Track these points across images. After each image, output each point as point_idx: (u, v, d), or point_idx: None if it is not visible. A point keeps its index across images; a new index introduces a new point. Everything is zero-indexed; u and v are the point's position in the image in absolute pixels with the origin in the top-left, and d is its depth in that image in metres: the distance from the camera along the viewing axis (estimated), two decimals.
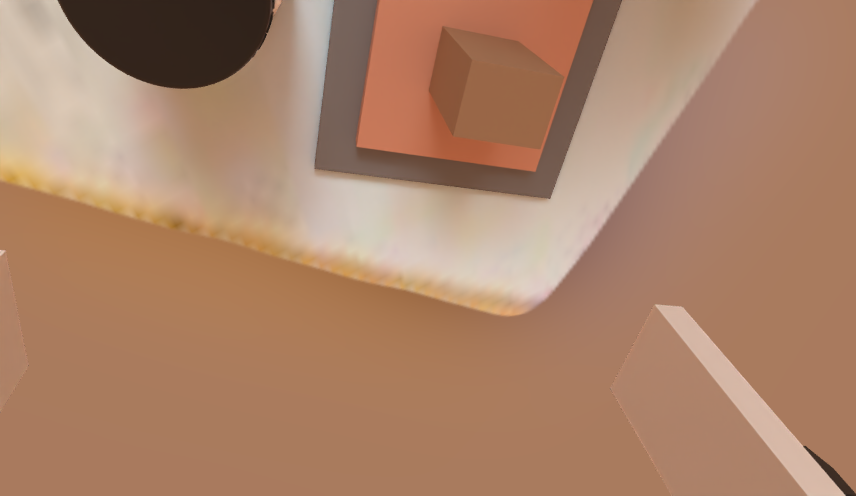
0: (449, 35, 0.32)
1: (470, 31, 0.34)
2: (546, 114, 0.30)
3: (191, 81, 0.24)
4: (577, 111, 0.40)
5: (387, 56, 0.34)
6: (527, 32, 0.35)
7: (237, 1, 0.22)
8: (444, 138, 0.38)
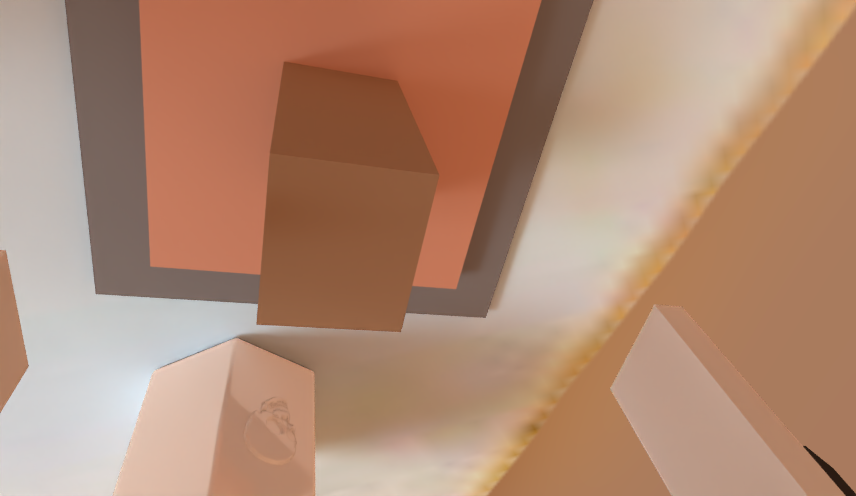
0: None
1: None
2: (358, 176, 0.13)
3: None
4: None
5: None
6: (266, 45, 0.19)
7: None
8: (455, 172, 0.23)
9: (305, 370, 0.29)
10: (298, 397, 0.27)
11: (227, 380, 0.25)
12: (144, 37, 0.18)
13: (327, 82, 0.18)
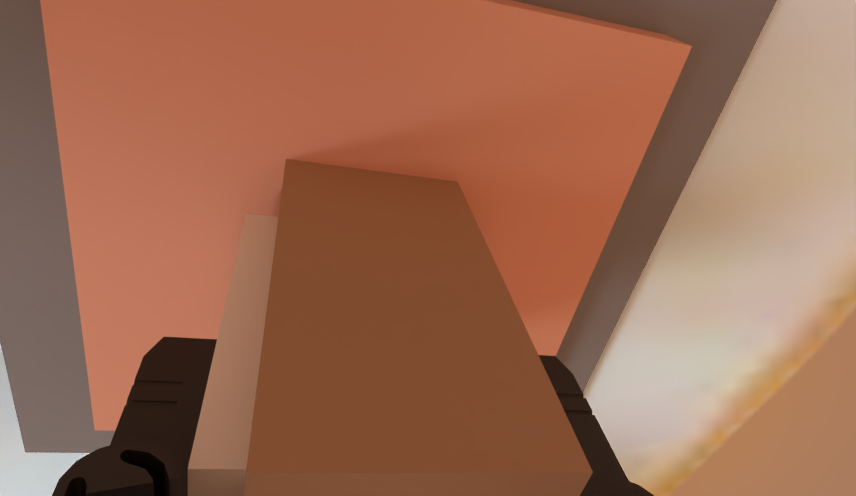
0: None
1: None
2: (431, 489, 0.06)
3: None
4: None
5: None
6: (258, 137, 0.12)
7: None
8: (532, 298, 0.16)
9: None
10: None
11: None
12: (63, 129, 0.11)
13: (354, 201, 0.11)
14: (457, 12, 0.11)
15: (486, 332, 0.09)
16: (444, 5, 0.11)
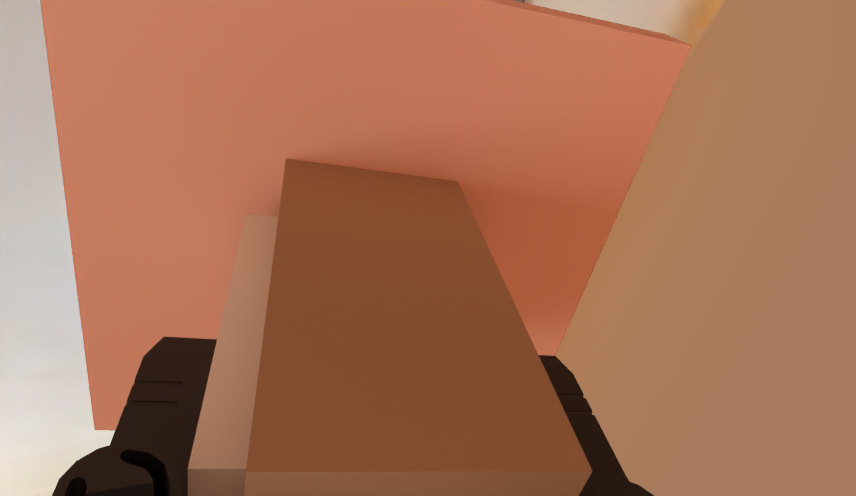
0: None
1: None
2: (430, 487, 0.06)
3: None
4: None
5: None
6: (258, 136, 0.12)
7: None
8: (532, 297, 0.16)
9: None
10: None
11: None
12: (63, 128, 0.11)
13: (354, 201, 0.11)
14: (457, 12, 0.11)
15: (486, 331, 0.09)
16: (444, 5, 0.11)
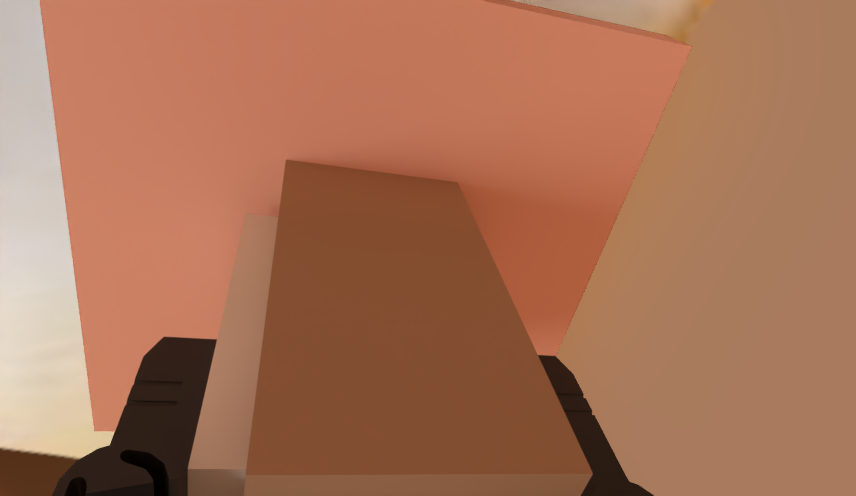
0: None
1: None
2: (431, 490, 0.06)
3: None
4: None
5: None
6: (258, 137, 0.12)
7: None
8: (532, 298, 0.16)
9: None
10: None
11: None
12: (62, 129, 0.11)
13: (354, 202, 0.11)
14: (457, 13, 0.11)
15: (486, 333, 0.09)
16: (444, 6, 0.11)
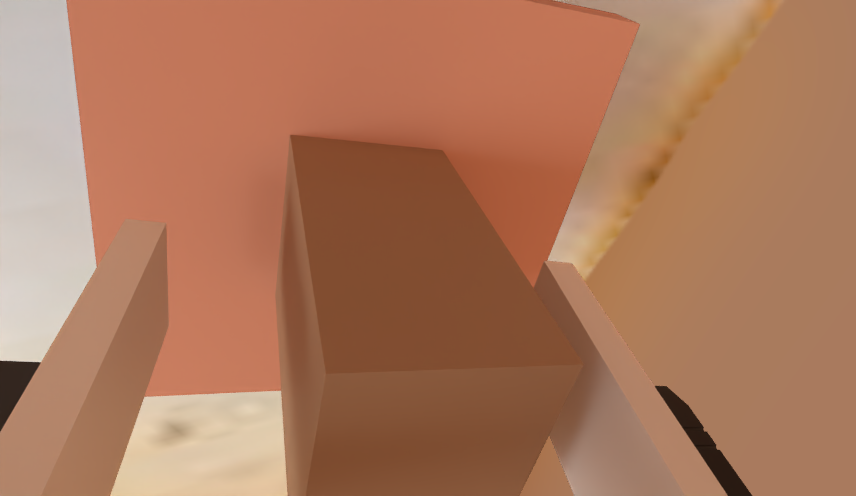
0: None
1: (279, 246, 0.15)
2: (463, 383, 0.08)
3: None
4: None
5: None
6: (265, 115, 0.13)
7: None
8: None
9: None
10: None
11: None
12: (85, 113, 0.12)
13: (358, 169, 0.13)
14: None
15: (488, 269, 0.10)
16: None
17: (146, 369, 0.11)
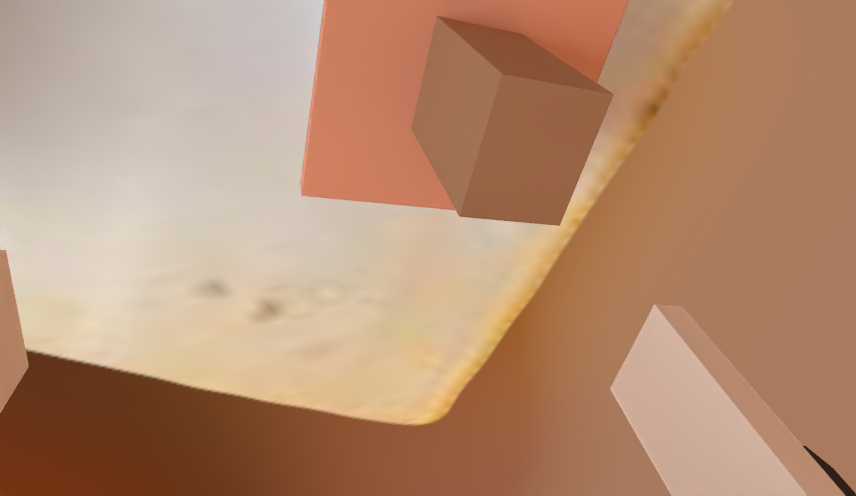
0: None
1: (419, 92, 0.25)
2: (557, 94, 0.18)
3: None
4: None
5: (443, 191, 0.28)
6: (425, 2, 0.23)
7: None
8: None
9: None
10: None
11: None
12: None
13: (480, 32, 0.22)
14: None
15: (561, 68, 0.20)
16: None
17: None
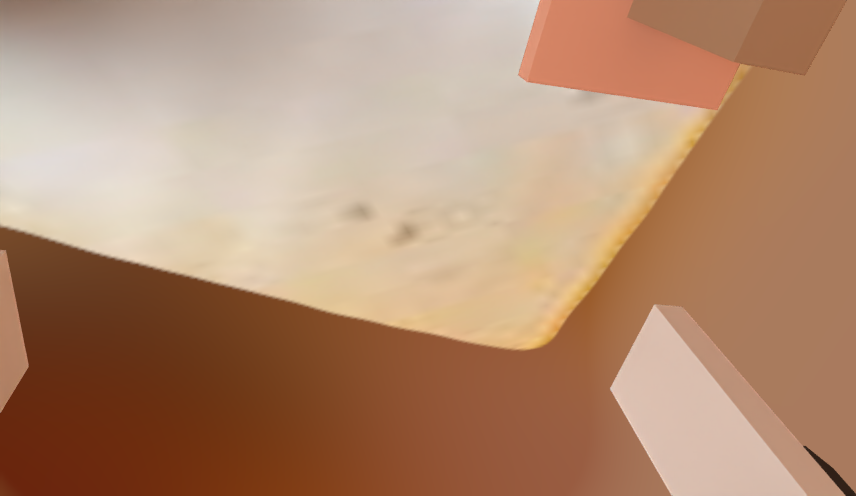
0: (653, 28, 0.27)
1: None
2: None
3: None
4: None
5: (640, 80, 0.31)
6: None
7: None
8: None
9: None
10: None
11: None
12: None
13: None
14: None
15: None
16: None
17: None
